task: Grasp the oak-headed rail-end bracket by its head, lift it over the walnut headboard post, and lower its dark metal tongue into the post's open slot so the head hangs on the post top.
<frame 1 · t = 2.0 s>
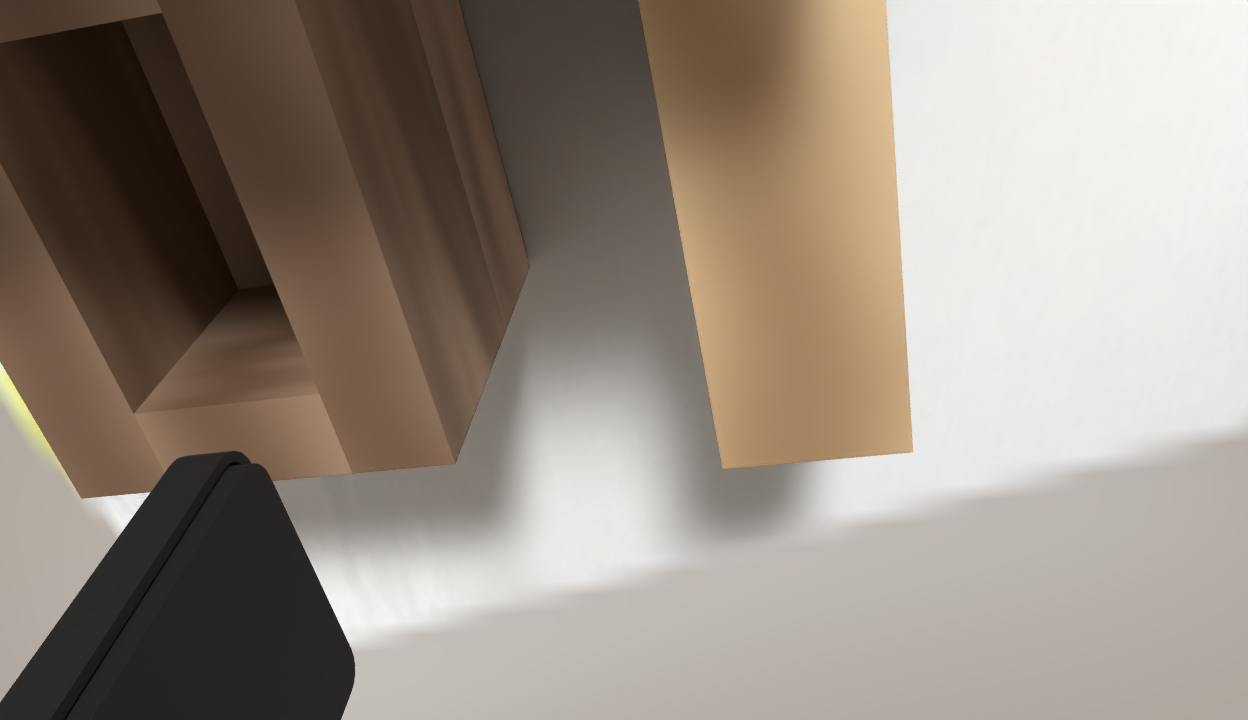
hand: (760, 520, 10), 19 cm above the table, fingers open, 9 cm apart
headboard: (311, 85, 28), on the table
bracket: (770, 8, 25), on the table
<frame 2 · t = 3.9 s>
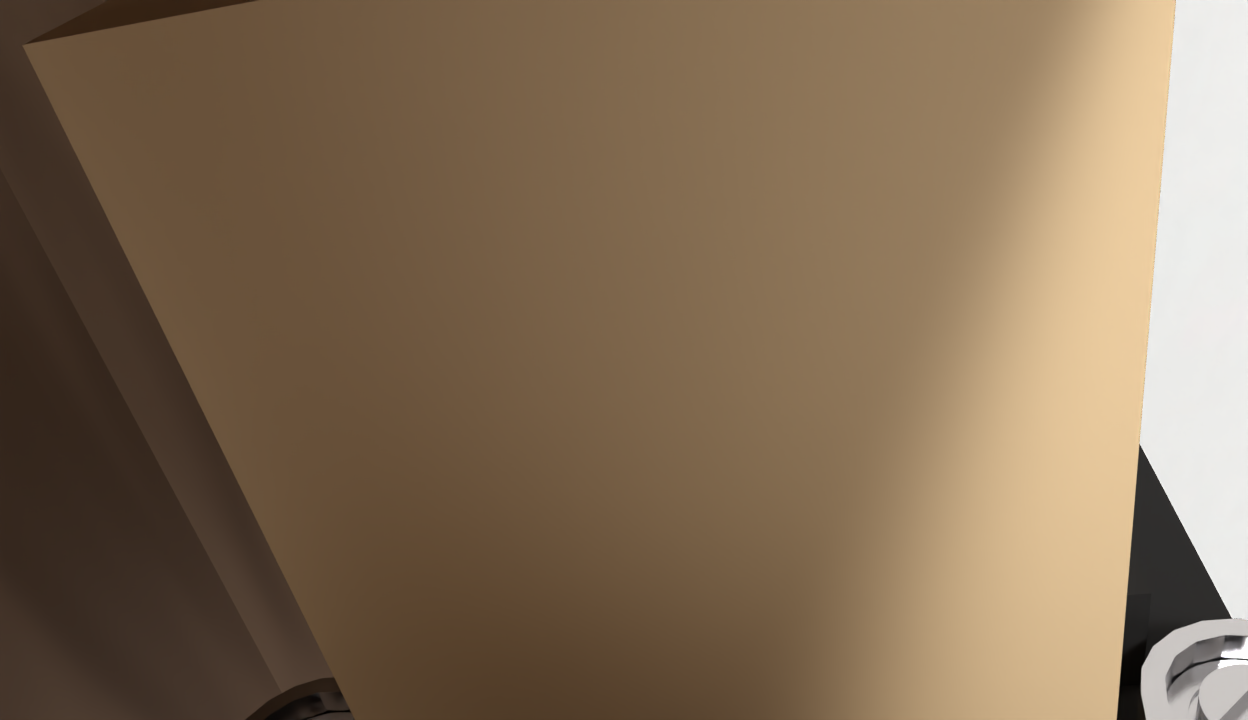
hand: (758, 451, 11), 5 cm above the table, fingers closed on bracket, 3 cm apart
bracket: (751, 239, 15), on the table, touching gripper
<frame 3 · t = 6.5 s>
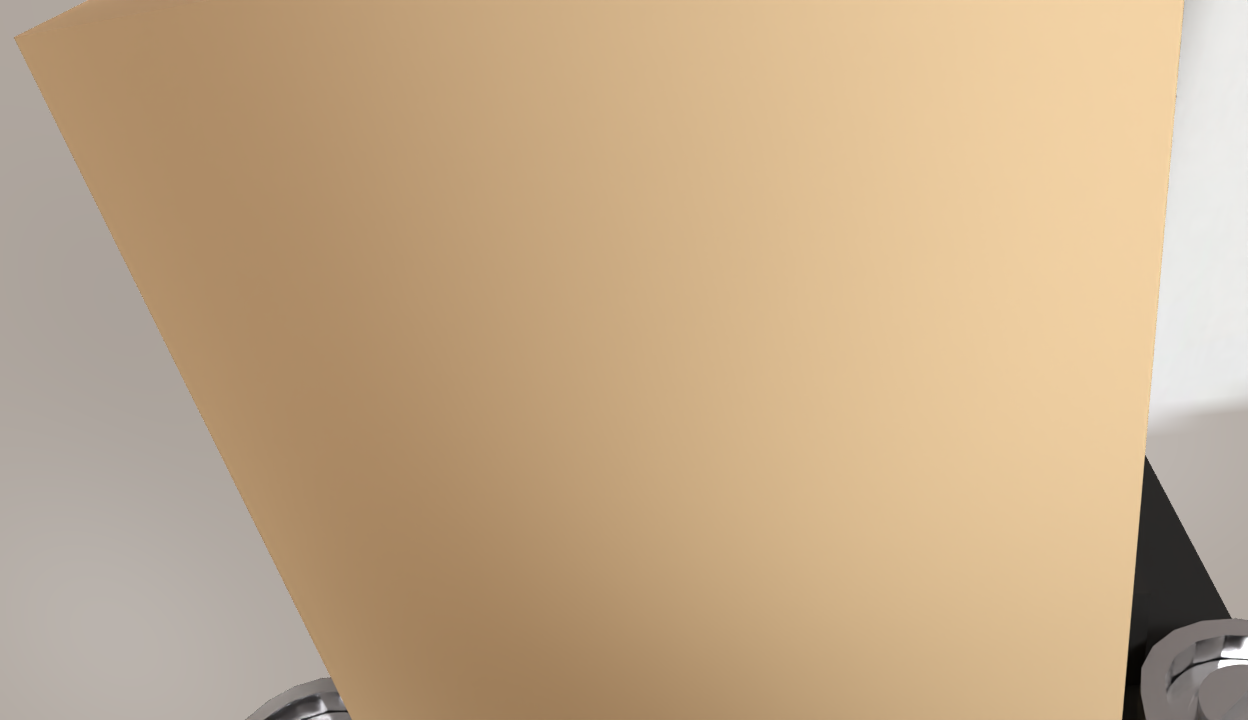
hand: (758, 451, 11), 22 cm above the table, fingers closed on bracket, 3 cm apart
bracket: (752, 238, 15), point 17 cm above the table, touching gripper
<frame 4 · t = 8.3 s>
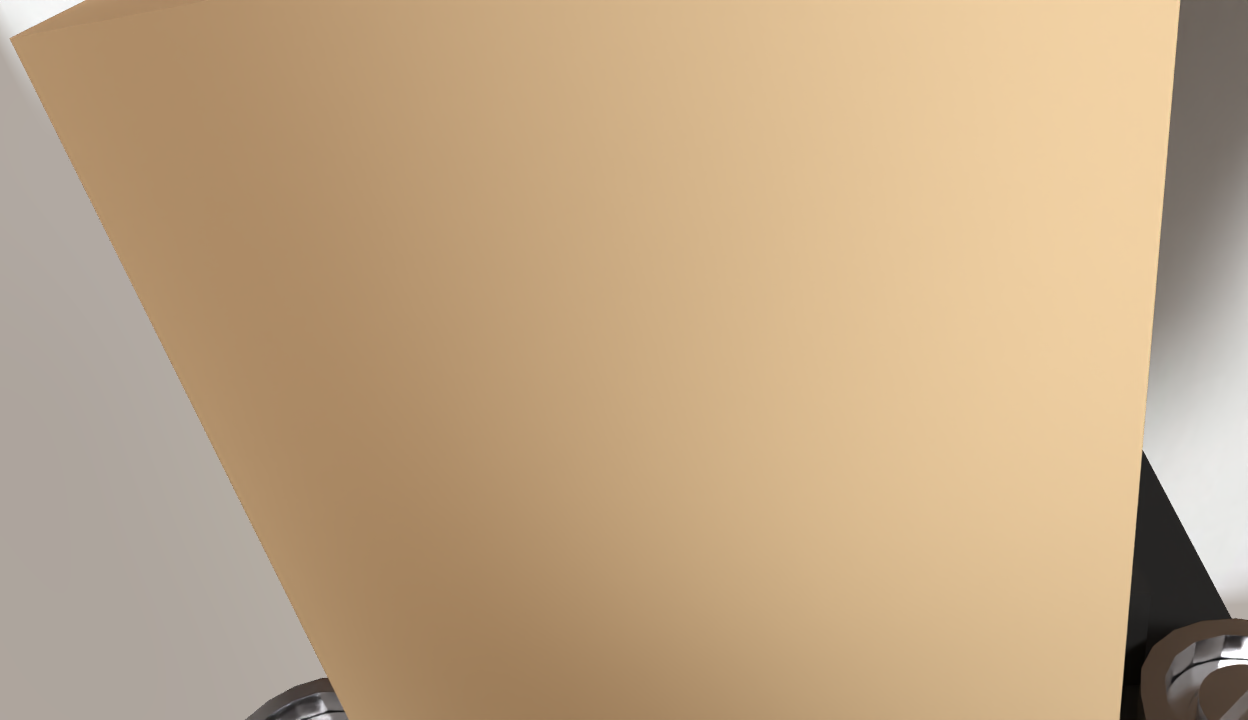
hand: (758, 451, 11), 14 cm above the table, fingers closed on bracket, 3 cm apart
bracket: (751, 238, 15), point 9 cm above the table, touching gripper
when the fingers open (10 cm above the table, at t = 9.5 s): bracket drops 1 cm, resting on headboard.
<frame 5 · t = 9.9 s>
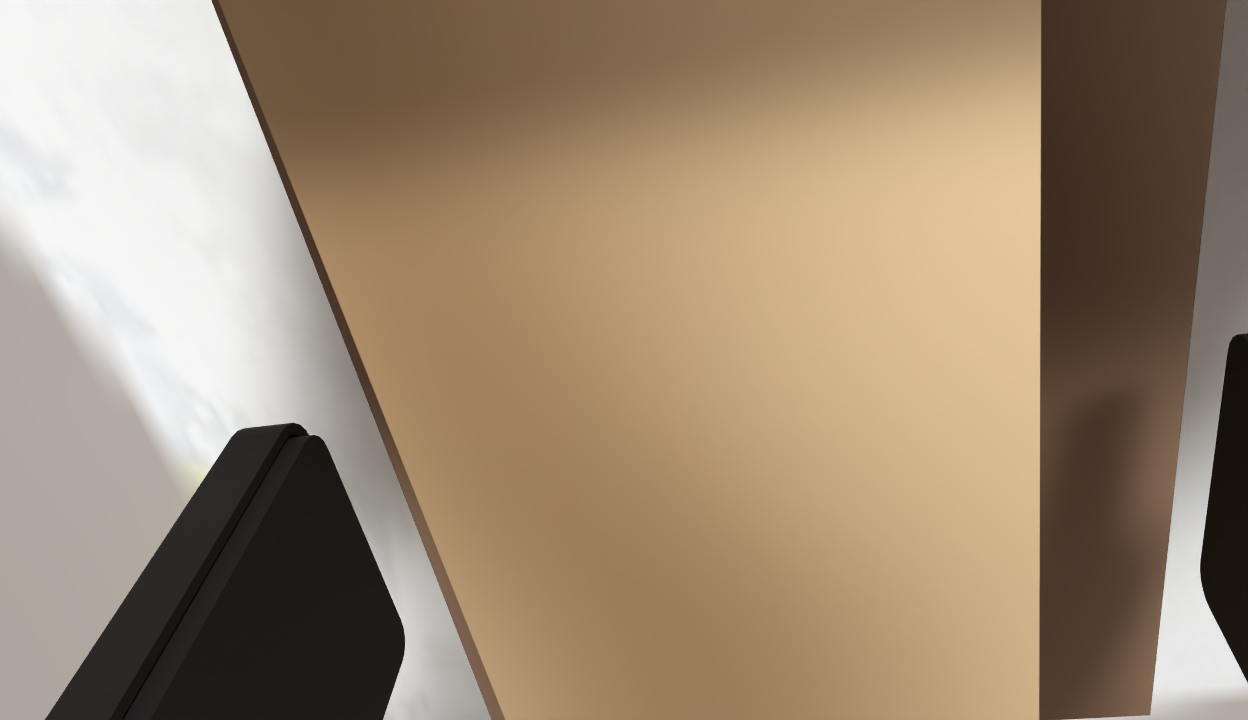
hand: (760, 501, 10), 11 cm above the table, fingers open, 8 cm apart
headboard: (747, 106, 19), on the table
bracket: (752, 195, 16), point 4 cm above the table, touching headboard
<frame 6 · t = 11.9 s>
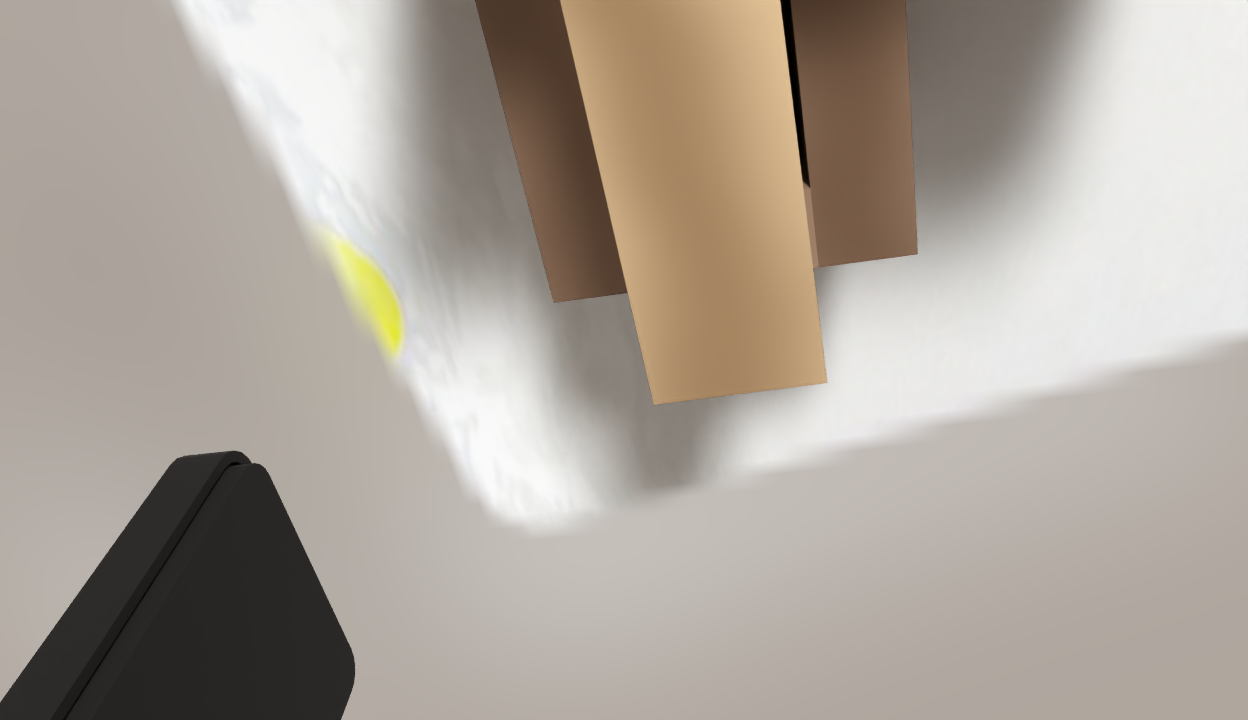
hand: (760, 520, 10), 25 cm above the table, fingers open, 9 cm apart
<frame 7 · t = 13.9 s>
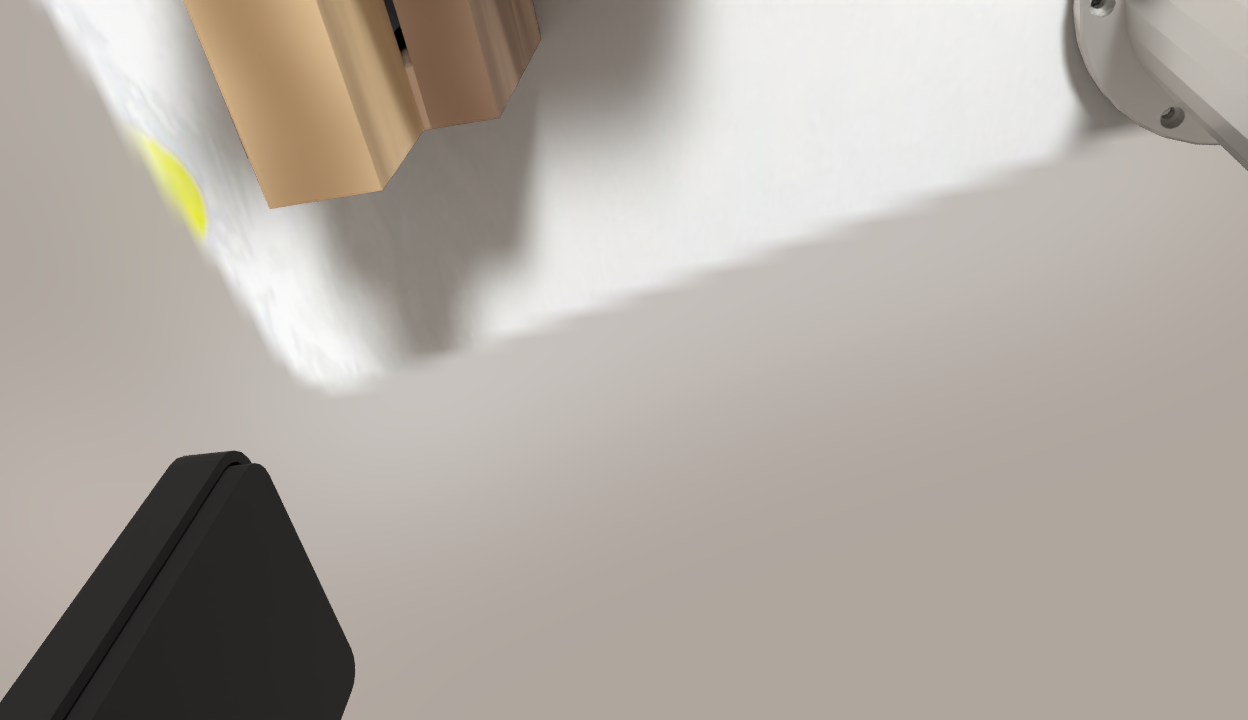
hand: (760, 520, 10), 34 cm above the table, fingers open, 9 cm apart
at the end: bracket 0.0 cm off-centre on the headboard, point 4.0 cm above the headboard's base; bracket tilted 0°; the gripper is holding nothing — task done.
